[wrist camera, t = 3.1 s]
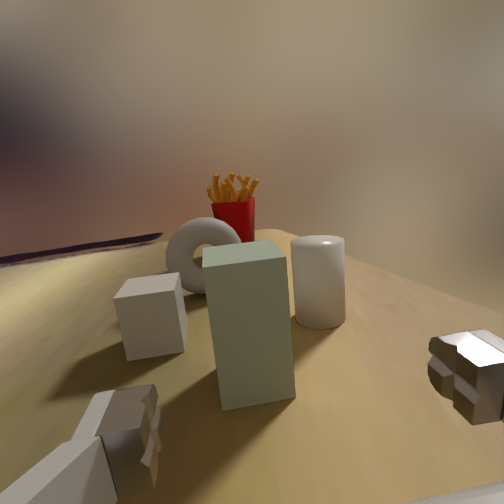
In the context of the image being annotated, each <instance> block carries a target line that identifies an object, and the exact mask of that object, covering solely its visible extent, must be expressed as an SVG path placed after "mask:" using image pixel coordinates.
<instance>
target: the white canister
mask: <svg viewBox="0 0 504 504" xmlns="http://www.w3.org/2000/svg"><path fill="white" fill-rule="evenodd" d="M291 258H292V274H293V289H294V305H295V319H296V321H297V322H298V323H299V324H300V325H302V326H304V327H307V328H311V329H331V328H335V327H338V326H340V325H341V324H343V323H344V322H345V319H346V314H345V261H344V239H343V238H341V237H337V236H331V235H313V236H305V237H300V238H297V239H294V240H292V241H291Z"/></svg>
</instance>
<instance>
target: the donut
mask: <svg viewBox="0 0 504 504" xmlns="http://www.w3.org/2000/svg"><path fill="white" fill-rule="evenodd" d="M237 243H241V239H240V238H239V236H238V235H237V233H236V232H235V230H234V229H233V228H232V227H230V226H229V225H228V224H227V223H225V222H224V221H221V220H218V219H215V218H202V217H200V218H197V219H194V220H191V221H188V222H186V223H185V224H183V225H182V226H181V227H179V228H178V229H177V230H176V231H175V233H174V234H173V236H172V237H171V238H170V240H169V243H168V246H167V249H166V265H167V268H168V271H169V273H176V272H179V274H180V280H181V286H182V288H184V289H185V290H187V291H189V292H193V293H197V294H206V292H205V285H204V278H203V271H202V268H199V267H198V266H196V264H195V263H194V260H193V254H194V251H195V250H196V248H197V247H199V246H200V245H202V244H211V245H213V246H221V245H229V244H237Z"/></svg>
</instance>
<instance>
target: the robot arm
mask: <svg viewBox="0 0 504 504" xmlns="http://www.w3.org/2000/svg"><path fill="white" fill-rule="evenodd" d="M429 352H430V353H431V354H432V355H433V356H432V358H431V359H430V361H429V362H428V376H429V379H430V382H431V384H432V385H433V387H434V388H435V390H436V391H437V392H438V393H439V394H440V395H441V396H443V397H445V398H448V399H450V400H452V401H453V407H454V408H455V409H456V410H457V411H458V412H459V413H460V414H461V415H462V416H463V417H464V418H465V419H466V420H467V421H468V422H469V423H470V424H471V425H472V426H473V425H479V424H485V423H491V422H497V421H503V423H504V340H502V339H501V338H499V337H497V336H495V335H494V334H492V333H490V332H488V331H487V330H484V329H479V328H478V329H473V330H468V331H463V332H460V333H455V334H449V335H444V336H438V337H433V338H431V340H430V342H429ZM157 400H158V394H157V390H156V387H155V385H154V384H150V385H144V386H137V387H130V388H123V389H117V390H110V391H104V392H98V393H96V394H95V395H94V396H93V398H92V400H91V401H90V403H89V405H88V407H87V409H86V411H85V413H84V415H83V417H82V419H81V421H80V422H79V424H78V426H77V428H76V430H75V432H74V434H73V436H72V438H71V440H70V441H69V442H63V443H62V444H61V445H60V446H58V447H57V448H56V449H55V450H53V451H52V452H51V453H50V454H48V455H47V456H46V457H45V458H44V459H42V460H41V461H40V462H39V463H37V464H36V465H35V466H34V467H32V468H31V469H30V470H29V471H28V472H26V473H25V474H24V475H23V476H21V477H20V478H19V479H18V480H16V481H15V482H14V483H13V484H11V485H10V486H9V487H8V488H7V489H5V490H4V491H3V492H2V493H0V504H116V502H117V501H118V498H120V497H124V496H129V495H133V494H137V493H142V492H146V491H150V490H154V489H155V483H156V478H157V472H158V467H159V462H158V458H157V454H158V452H159V451H160V450H161V449H162V443H163V418H162V413H161V410H160V409H159V408H157V407H156V404H157ZM402 504H504V481H501V482H496V483H492V484H487V485H483V486H478V487H474V488H469V489H465V490H460V491H456V492H451V493H447V494H442V495H438V496H433V497H429V498H424V499H420V500H415V501H411V502H406V503H402Z"/></svg>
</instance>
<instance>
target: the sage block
mask: <svg viewBox="0 0 504 504" xmlns="http://www.w3.org/2000/svg"><path fill="white" fill-rule="evenodd" d="M202 271H203V278H204V285H205V292H206V299H207V306H208V313H209V320H210V327H211V334H212V341H213V348H214V355H215V362H216V369H217V376H218V383H219V390H220V397H221V405H222V411H226V410H232V409H237V408H243V407H248V406H253V405H259V404H264V403H270V402H275V401H281V400H286V399H292V398H296V393H295V378H294V364H293V349H292V335H291V320H290V306H289V291H288V276H287V262H286V256H285V255H284V254H283V253H282V252H281V251H280V250H279V249H278V247H277V246H276V245H275V244H274V243H273V242H272V241H271V240H262V241H254V242H246V243H237V244H229V245H221V246H213V247H205V248H203V259H202Z"/></svg>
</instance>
